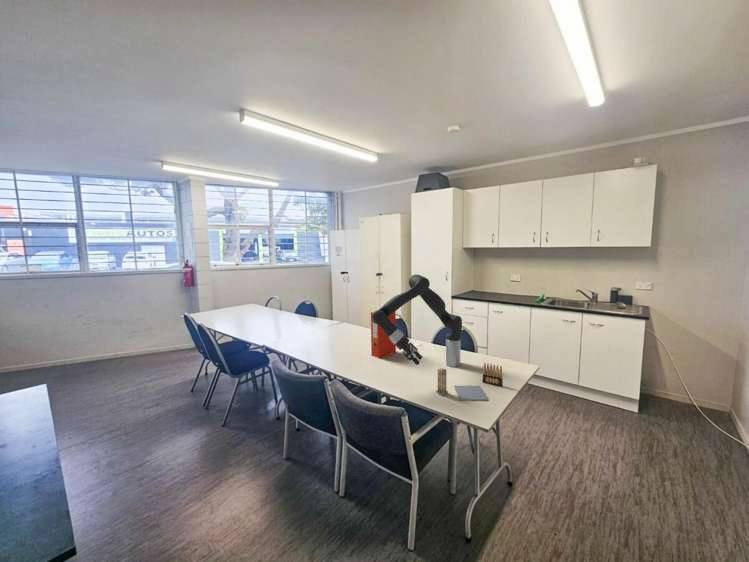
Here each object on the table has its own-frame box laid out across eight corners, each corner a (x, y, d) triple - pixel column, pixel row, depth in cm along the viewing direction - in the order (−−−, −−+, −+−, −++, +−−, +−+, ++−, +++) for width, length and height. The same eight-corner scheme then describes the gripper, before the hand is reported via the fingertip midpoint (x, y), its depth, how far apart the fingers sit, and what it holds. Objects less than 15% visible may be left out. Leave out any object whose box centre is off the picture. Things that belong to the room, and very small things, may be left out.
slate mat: (454, 386, 178) (454, 385, 178) (479, 386, 177) (479, 385, 177) (460, 400, 162) (460, 399, 162) (488, 400, 161) (488, 399, 161)
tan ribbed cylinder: (435, 390, 173) (435, 367, 172) (446, 390, 173) (446, 367, 171) (437, 396, 167) (437, 372, 166) (448, 396, 167) (448, 372, 165)
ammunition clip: (482, 382, 182) (482, 362, 181) (483, 381, 183) (483, 361, 182) (501, 387, 176) (502, 366, 174) (502, 385, 177) (503, 365, 176)
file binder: (396, 352, 236) (395, 310, 232) (379, 358, 224) (378, 314, 221) (388, 350, 242) (387, 308, 238) (371, 355, 230) (370, 312, 227)
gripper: (400, 338, 166) (422, 361, 164) (406, 331, 180) (426, 352, 177) (391, 347, 168) (412, 370, 166) (397, 339, 182) (417, 360, 179)
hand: (419, 361), depth 172 cm, fingers open, 8 cm apart
